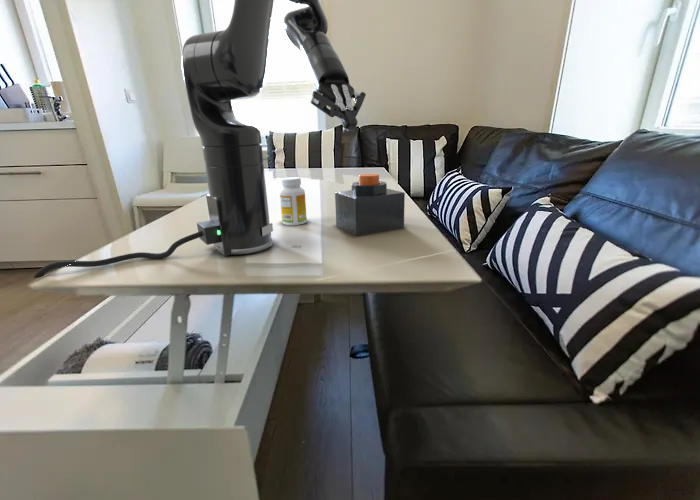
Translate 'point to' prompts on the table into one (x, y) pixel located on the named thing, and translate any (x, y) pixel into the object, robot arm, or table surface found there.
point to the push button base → (369, 209)
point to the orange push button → (368, 179)
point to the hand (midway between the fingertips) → (352, 128)
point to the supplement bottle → (293, 202)
